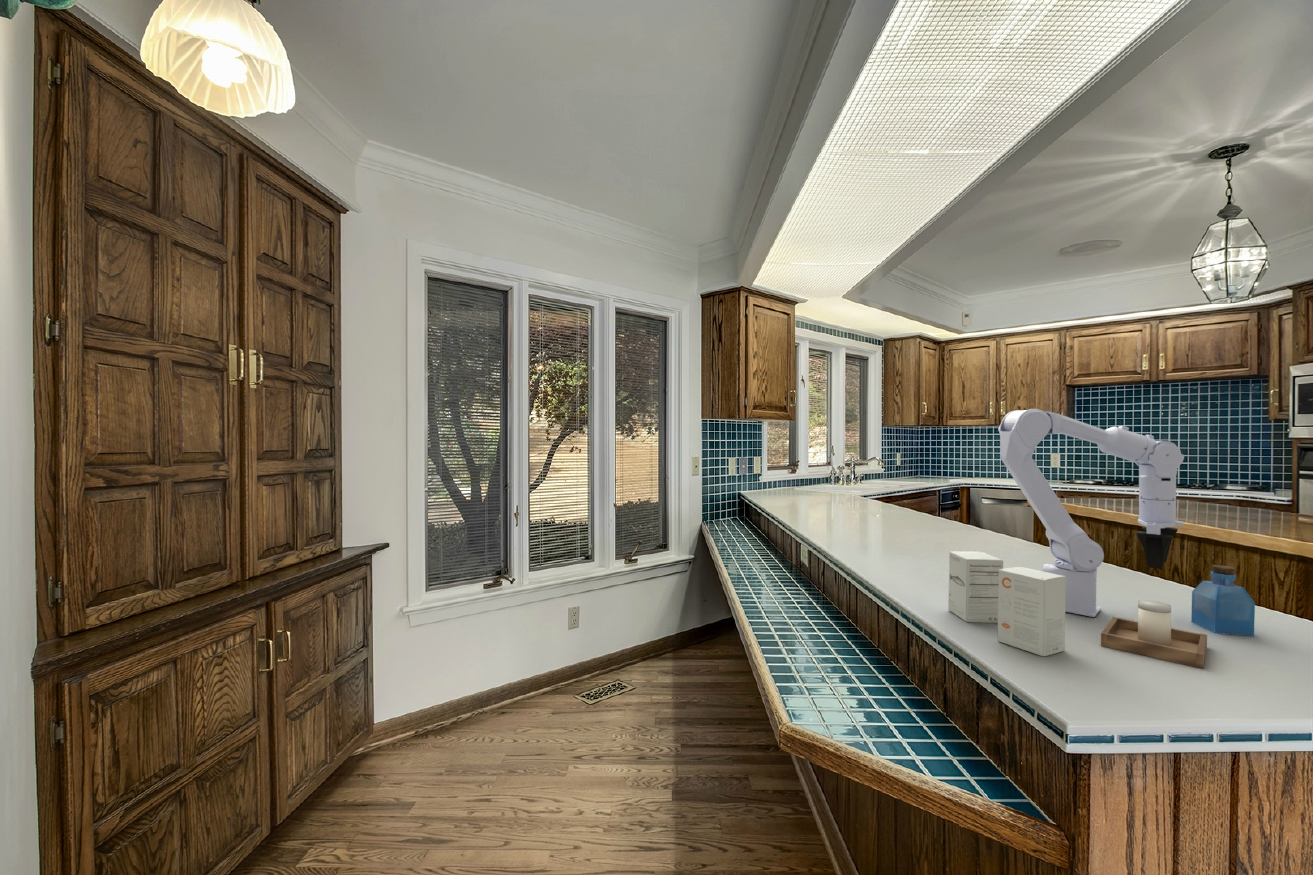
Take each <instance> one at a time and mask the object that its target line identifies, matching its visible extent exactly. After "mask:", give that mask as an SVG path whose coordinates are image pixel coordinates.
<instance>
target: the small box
mask: <svg viewBox="0 0 1313 875" xmlns="http://www.w3.org/2000/svg"><path fill="white" fill-rule="evenodd" d="M997 642H999V643H1003V644H1005V645H1008V646H1011V647H1015V648H1016V649H1021V650H1023V651H1027V652H1029V653H1032V654H1034V655H1038V656H1041V657H1047V656H1051V655H1054V654H1055V655H1056V654H1057V653H1061V652H1064V651H1065V650H1066V612H1065V576H1062V575H1057V574H1053V573H1048V572H1043V571H1042V570H1038V569H1033V568H1029V567H1023V566H1014V567H1007V568H1005V567H1004V568H1003V569H999V583H998V623H997Z"/></svg>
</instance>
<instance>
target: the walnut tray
mask: <svg viewBox="0 0 1313 875" xmlns="http://www.w3.org/2000/svg"><path fill="white" fill-rule="evenodd" d="M1100 646H1101V647H1105V648H1110V649H1113V650H1118V651H1123V652H1128V653H1131V654H1135V655H1141V656H1146V657H1149V658H1154V659H1159V660H1164V661H1168V662H1171V663H1172V662H1173V663H1176V664H1182V665H1185V666H1186V665H1187V666H1190V667H1196V668H1199V669H1204V665H1205V659H1206V654H1207V649H1208V634H1205V633H1204V634H1203V633H1199V632H1194V631H1189V630H1184V629H1179V628H1173V627H1171V647H1170V646H1165V645H1161V644H1156V643H1151V642H1146V641H1142V640H1138V620H1137V621H1136V620H1134V619H1133V620H1132V619H1127V618H1121V617H1118V616H1117V617H1115V616H1112V618H1111V619H1110V620H1109V622H1108V623H1107V624H1106V626H1105V627H1104V628H1103V630H1102V631H1101V633H1100Z"/></svg>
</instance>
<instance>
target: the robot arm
mask: <svg viewBox="0 0 1313 875" xmlns="http://www.w3.org/2000/svg"><path fill="white" fill-rule="evenodd" d="M1129 429H1130V427H1127V426H1125V425H1119V426H1118V427H1117V426H1111V427H1109V428H1106V429H1103V428H1101V427H1098V426H1095V425H1091V424H1089V423H1086V422H1083V421H1080V420H1077V419H1075V418H1071V417H1070V416H1066V415H1063V414H1060V413H1056V412H1051V411H1044V410H1042V409H1039V408H1029V409H1027V410H1025V409H1023V410H1022V409H1021V410H1020V409H1016V410H1012V411H1011V410H1010V412H1008V413H1007V414H1005V415H1004V417H1003V418H1002V420H1001V423H1000V424H999V427H998V432H999V436H1000V459H1001V461H1002V463H1003V465H1004V466H1005V468H1006V469H1007V471H1008V472H1009V474H1010V476H1012V478H1013V481H1015V483H1016V484H1017V486H1018V488H1019V489H1020V491H1021V492H1022V493H1023V494H1022V495H1024V497H1025V499H1026V500H1027V501H1028V503H1029V504H1030V506H1031V508H1032V509H1033V511H1034V513H1035V514H1036V515H1037V517H1038V519H1039V520H1040V521H1041V523H1042V525H1043V526H1044V528H1045V529H1046V530H1045V537H1046V538H1047V539H1048V543H1049V550H1050V553H1051V554H1052V556H1053V557H1055V560H1054V564H1052V563H1044V564H1043V566H1042V568H1041V571H1043V572H1048V573H1053V574H1057V575H1062V576H1065V613H1070V614H1077V615H1081V616H1087V617H1091V618H1094V617H1097V615H1098V613H1099V612H1100V611H1101V610H1102V606H1099V605H1098V606H1097V581H1098V579H1097V576H1098V568H1099V567H1100V566H1101V565H1102V564H1103V562H1104V559H1105V554H1104V550H1103V548H1102V546H1101V545H1100V544H1099V543H1098V542H1095V541H1094V540H1092V539H1091V538H1090V537H1089V536H1088V535H1087V533H1086V531H1084V530H1083V528H1081V527H1080V526H1079V525H1078V524H1077V523H1075V521H1074V520H1073V519H1072V517H1071V515H1070V514H1069V513H1068V511H1067V510H1066V507H1064V505H1063V503H1062V501H1061V500H1060V499H1059V497H1058V495H1057V494H1056V492H1055V491H1054V489H1053V488H1052V486H1051V484H1050V483H1049V482H1048V480H1047V479H1046V477H1045V476H1044V474H1043V473H1042V471H1041V470H1040V468H1039V467H1038V465H1037V464H1036V462H1035V460H1034V459H1033V454H1034V453H1035V450H1036V448H1037V446H1038V445H1039V444H1040V443H1041V442H1042V440H1043V439H1044V438H1045V437H1046V436H1047V435H1055V434H1061V435H1064V436H1067V437H1071V438H1074V439H1078V440H1082V441H1086V442H1089V443H1092V444H1096V446H1097V448H1098V450H1099V451H1100V452H1102V453H1104V454H1107V455H1111V456H1113V457H1117V458H1120V459H1123V460H1125V461H1130V462H1133V463H1135V464H1136V466H1138V519H1137V523H1138V524H1140V525H1142V527H1141V530H1142V531H1140V530H1137V531H1136V532H1135V535H1136V536H1137V539H1138V540H1139V542H1140V544H1141V547H1142V548H1143V552H1144V556H1145V558H1144V559H1145V562H1146V565H1147V568H1151V569H1157V570H1158V569H1160V570H1162V569H1163V566H1164V564H1165V563H1166V562H1167V560H1168V556H1169V553H1170V548H1171V544H1172V542H1173V539H1174V536H1176V534H1177V532H1178V531H1179V530H1178V528H1176V526H1179V527H1184V525H1185V524H1184V521H1179V520H1177V475H1178V468H1179V466H1181V465H1182V463H1183V462H1184V459H1185V454H1183V453H1182V452H1181V449H1180V448H1179V447H1178V446H1177V445H1176V443H1174V442H1172V441H1167V440H1155V436H1154V435H1151V434H1145V435H1143V434H1141V433H1140V434H1139V433H1137V432H1133V431H1131V430H1129Z"/></svg>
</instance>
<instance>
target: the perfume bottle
mask: <svg viewBox="0 0 1313 875" xmlns="http://www.w3.org/2000/svg"><path fill="white" fill-rule="evenodd" d="M1211 569H1212V570H1211V571H1210V574H1209V575H1210V578H1211V579H1212V580H1202V581H1201V582H1200V583H1198V585H1197V586H1196V587H1194V589H1193V590H1191V617H1190V618H1191V622H1190V623H1192V624H1194V625H1195V626H1196V625H1197V626H1198V625H1199V626H1198V627H1201V628H1203V629H1206V630H1207V629H1208V630H1207V631H1209V630H1210V632H1211V631H1212V632H1211V633H1214V634H1220V633H1225V635H1235V634H1239V635H1238V636H1250V637H1251V636H1252V637H1253V636H1255V620H1256V619H1255V618H1256V617H1255V616H1256V615H1255V612H1256V610H1255V609H1256V602H1255V601H1254V600H1253V598H1252V597H1251V596H1250V594H1249V593H1248V592H1247V590H1246V589H1245V587H1243V586H1240V585H1237V584H1234V581H1236V578H1237V575H1236V573H1234V572H1235V569H1236V568H1235V567H1233V566H1229V565H1221V564H1211Z"/></svg>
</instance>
